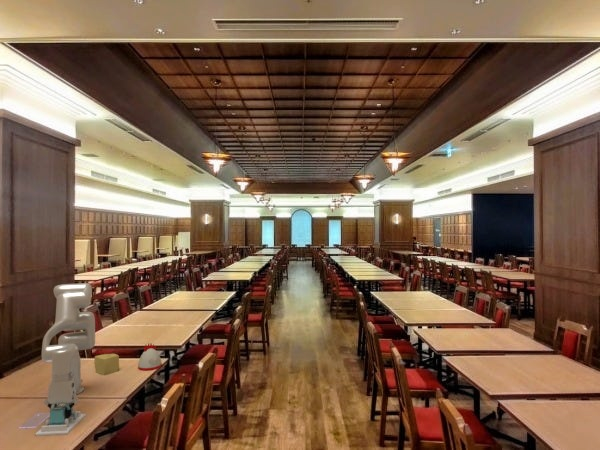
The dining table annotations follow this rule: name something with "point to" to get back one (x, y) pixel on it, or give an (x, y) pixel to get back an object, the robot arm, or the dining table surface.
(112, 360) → the cheese
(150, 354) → the kitchen timer
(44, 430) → the tray
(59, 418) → the teal rectangular block
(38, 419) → the mobile phone
